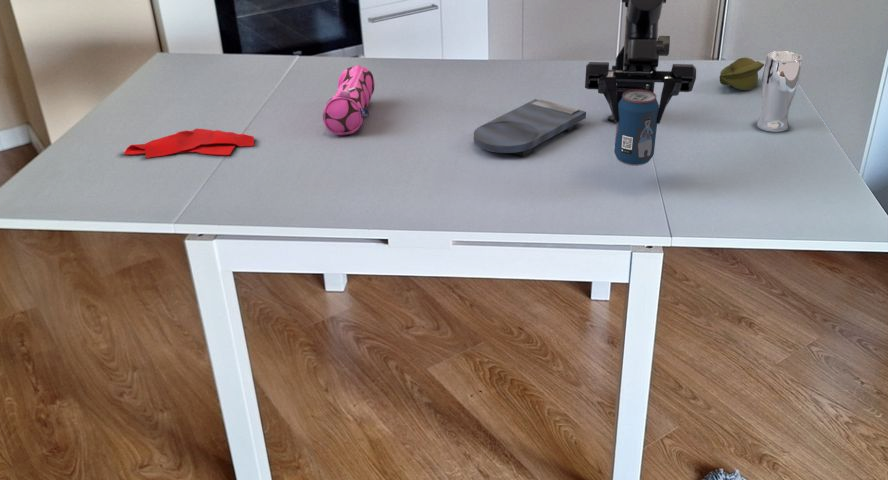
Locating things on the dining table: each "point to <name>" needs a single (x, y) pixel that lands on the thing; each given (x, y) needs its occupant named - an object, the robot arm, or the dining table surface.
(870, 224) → the dining table surface
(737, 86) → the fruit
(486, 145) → the grey kitchen scale
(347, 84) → the pencil case
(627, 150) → the soda can
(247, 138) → the cloth
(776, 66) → the beer glass
